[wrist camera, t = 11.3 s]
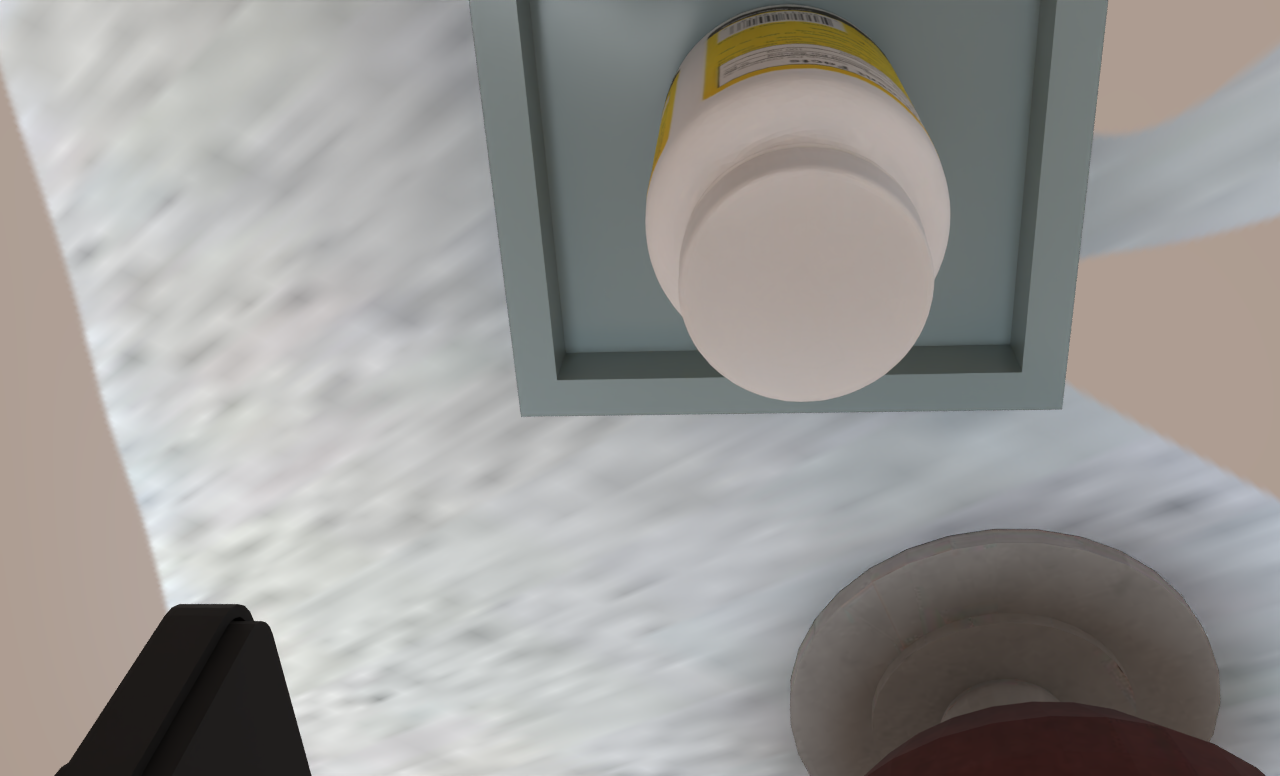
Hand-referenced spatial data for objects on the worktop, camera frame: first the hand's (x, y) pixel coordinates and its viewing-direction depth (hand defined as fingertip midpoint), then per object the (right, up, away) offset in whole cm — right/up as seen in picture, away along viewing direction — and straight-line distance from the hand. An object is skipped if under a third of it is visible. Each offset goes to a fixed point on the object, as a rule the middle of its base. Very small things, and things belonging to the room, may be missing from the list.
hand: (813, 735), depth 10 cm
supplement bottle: (+2, +9, +17) cm, 20 cm away
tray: (+2, +9, +18) cm, 21 cm away
